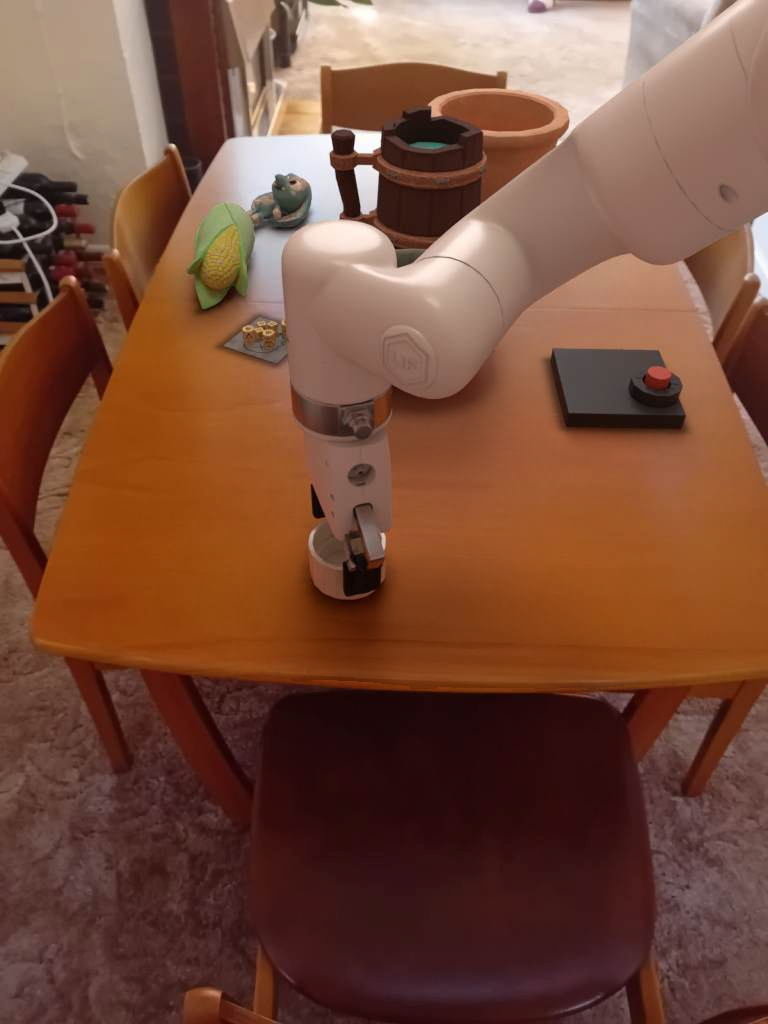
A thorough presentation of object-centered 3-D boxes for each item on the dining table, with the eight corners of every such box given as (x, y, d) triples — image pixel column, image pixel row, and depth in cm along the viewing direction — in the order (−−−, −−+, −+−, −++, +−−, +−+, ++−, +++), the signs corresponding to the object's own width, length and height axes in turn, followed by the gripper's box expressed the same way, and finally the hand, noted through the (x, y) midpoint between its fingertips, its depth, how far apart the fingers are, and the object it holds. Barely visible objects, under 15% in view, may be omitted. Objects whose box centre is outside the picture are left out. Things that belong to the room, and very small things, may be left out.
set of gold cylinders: (296, 334, 101) (295, 321, 100) (273, 353, 98) (272, 340, 97) (263, 324, 103) (262, 310, 102) (240, 342, 100) (238, 329, 98)
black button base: (655, 363, 98) (662, 338, 95) (682, 428, 88) (690, 403, 86) (550, 361, 98) (554, 336, 95) (565, 426, 88) (571, 401, 86)
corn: (271, 210, 116) (258, 280, 102) (244, 252, 121) (229, 324, 107) (220, 178, 113) (200, 245, 99) (195, 222, 117) (172, 293, 103)
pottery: (549, 179, 138) (563, 90, 128) (558, 236, 122) (575, 139, 112) (425, 173, 139) (430, 84, 129) (418, 229, 123) (423, 132, 113)
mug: (335, 238, 121) (330, 97, 107) (483, 240, 121) (498, 99, 107) (328, 299, 108) (322, 148, 94) (494, 302, 108) (513, 150, 94)
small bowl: (371, 540, 76) (371, 506, 72) (395, 592, 71) (396, 559, 68) (303, 557, 74) (299, 523, 71) (323, 611, 69) (320, 578, 66)
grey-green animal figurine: (221, 184, 121) (281, 150, 125) (234, 225, 127) (291, 192, 131) (262, 206, 116) (324, 170, 120) (274, 249, 121) (332, 213, 125)
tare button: (664, 377, 90) (668, 366, 89) (670, 391, 88) (674, 379, 87) (642, 377, 90) (645, 365, 89) (647, 390, 88) (650, 379, 87)
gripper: (432, 458, 54) (418, 613, 66) (354, 326, 65) (355, 479, 77) (325, 481, 52) (332, 636, 64) (265, 341, 63) (280, 495, 75)
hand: (345, 550), depth 70 cm, fingers open, 9 cm apart
